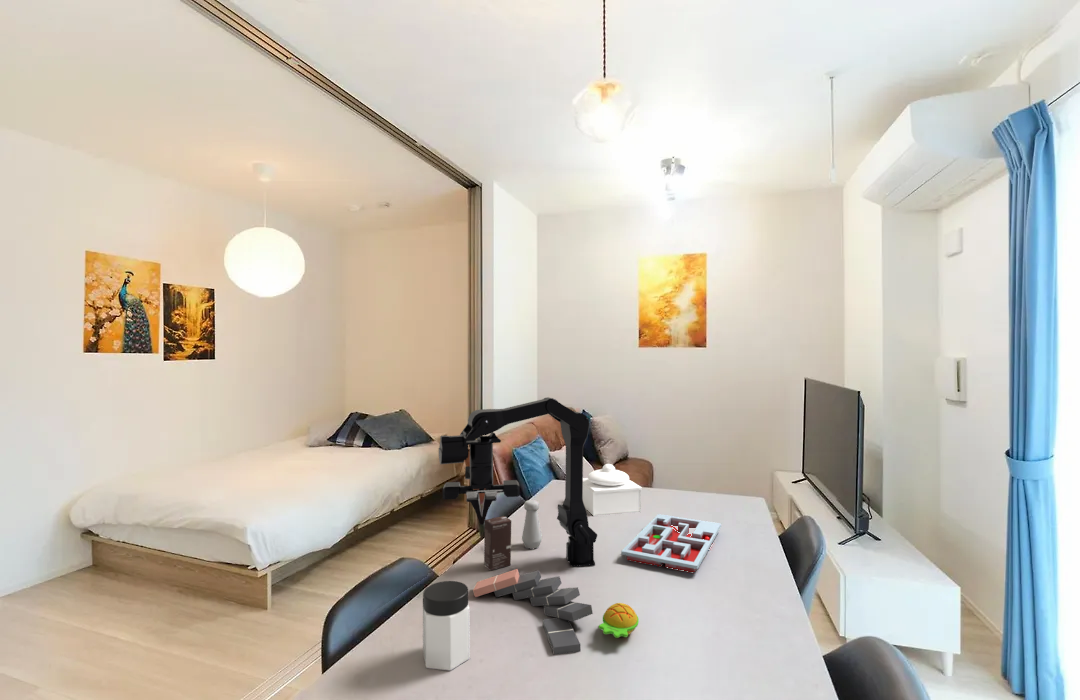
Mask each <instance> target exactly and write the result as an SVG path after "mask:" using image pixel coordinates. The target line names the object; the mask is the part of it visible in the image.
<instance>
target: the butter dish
mask: <svg viewBox="0 0 1080 700" xmlns="http://www.w3.org/2000/svg"><path fill="white" fill-rule="evenodd" d="M642 490H643V487H642V486H641V485H639V484H638V483H636V482H634V481H632V480H630V476H629V475H628V474H627V473H626V472H624V471H622V470H619V469H616V467H615V466H614V465H613V464H610V463H605V464H604V465H603V466H602V468H600V469H596V470H593V471H591V472H589V474H588V475H587V477H583V503H584V506H585V509H586V511H587V510H588V511H589V512H590V513H591V514H592V515H593V516H592V515H591V514H590V513H589V512H588V511H587V512H588V513H589V514H590V515H591V516H592V517H599V516H598V515H602V516H611V515H610V514H615V515H623V514H622V513H627V514H633V513H632V512H639V513H641V507H642V506H641V504H642V503H641V491H642Z"/></svg>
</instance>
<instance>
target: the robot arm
mask: <svg viewBox="0 0 1080 700" xmlns="http://www.w3.org/2000/svg"><path fill="white" fill-rule="evenodd" d="M546 415H549V416H550V417H551V418H553V419H554V420H555V421H557V422H559V424H560V429H561V435H562V438H563V441H564V445H565V481H564V482H565V487H564V488H565V490H564V491H565V493H564V495H565V497H564V500H563V502H562V503H561V504H560V503H558V504H557V516H556V517H557V518H556V520H558V521H559V525H560V526H561V527H562V529H564V530H565V532H566V534H567V535H568V538H567V539H568V542H566V544H565V545H566V546H565V548H566V549H565V550H566V551H565V552H566V553H565V555H566V560H567V562H569V565H570V567H590V566H591V567H592V566H596V562H595V560H594V557H595V556H594V555H595V554H594V553H595V552H594V543H596V541H597V538H598V534H597V533H596V531H594V530H593V529H592V528H591V527H590V526H589V519H588V511H587V510H586V509H585V506H584V503H583V478H584V445H585V443H586V441H587V440H588V435H589V429H590V419H589V417H588V416H587V415H585V414H584V413H582V412H579V411H575V410H572V409H571V408H569V407H567V406H566V405H564V404H562V403H561V402H559V401H558V400H557V399H556V398H553V397H549V396H548V397H544V398H542V399H538V400H535V401H530V402H526V403H522V404H517V405H513V406H508V407H505V408H486V409H476V410H475V409H474V411H472V412H471V413H470V414H469V416H468V419H467V424H465V427H464V428H463V429H462V431H461V432H460V434H459V435H440V441H439V446H438V460H439V461H438V462H439V465H449V464H451V465H452V464H462V463H464V462H465V461H467V459H468V458H469V466H468V465H467V466H465V468H464V469H465V470H464V473H465V474H464V478H465V480H469V485H461V482H460V481H448V482H447V481H446V482H445V484H444V485H443V487H442V500H456V499H457V498H458V497H459V496H460V495H465V496H466V500H465V501H466V502H467V503H471V506H472V507H473V510H474V511H475V514H476V517H477V520H478V522H479V525H480V526H481V525H485V520H486V517H487V515H488V512H489V510H490V507H491V505H492V503H493V502H496V501H497V495H498V493H503V494H504V495H505V497H506V498H517V497H520V496H521V492H520V491H521V489H520V482H519V481H518V480H517V479H512V480H511V479H510V480H509V479H507V480H502V484H494V449H493V448H494V444H499V443H502V440H501V439H500V438H499V437H498V436H497V435H496V433H495V432H497V431H498V430H500V429H502V428H504V427H505V426H507V425H511V424H514V423H519V422H522V421H526V420H529V419H534V418H538V417H542V416H546ZM480 494H484V498H483V505H482V507H481V499H480Z"/></svg>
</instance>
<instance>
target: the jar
mask: <svg viewBox="0 0 1080 700" xmlns="http://www.w3.org/2000/svg"><path fill="white" fill-rule="evenodd" d="M470 609H471V608H470V605H469V587H468V586H467V584H465V583H463V582H462V581H461V582H460V581H457V580H456V581H455V580H443V581H439V582H435V583H433V584H431V585H429V586H427V587H426V588H425V589H424V591H423V593H422V655H423V658H424V659H423V660H424V664H425V668H426V669H431V670H439V671H452V670H453V669H456V668H457V667H458V666H461V665H462V664H463V663H465V662H467V661H468V660H470V658H471V636H470V635H471V633H470V632H471V628H470V627H471V625H470V624H471V623H470V622H471V621H470V620H471V619H470V618H471V617H470V615H471V614H470V613H471V611H470Z"/></svg>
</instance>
